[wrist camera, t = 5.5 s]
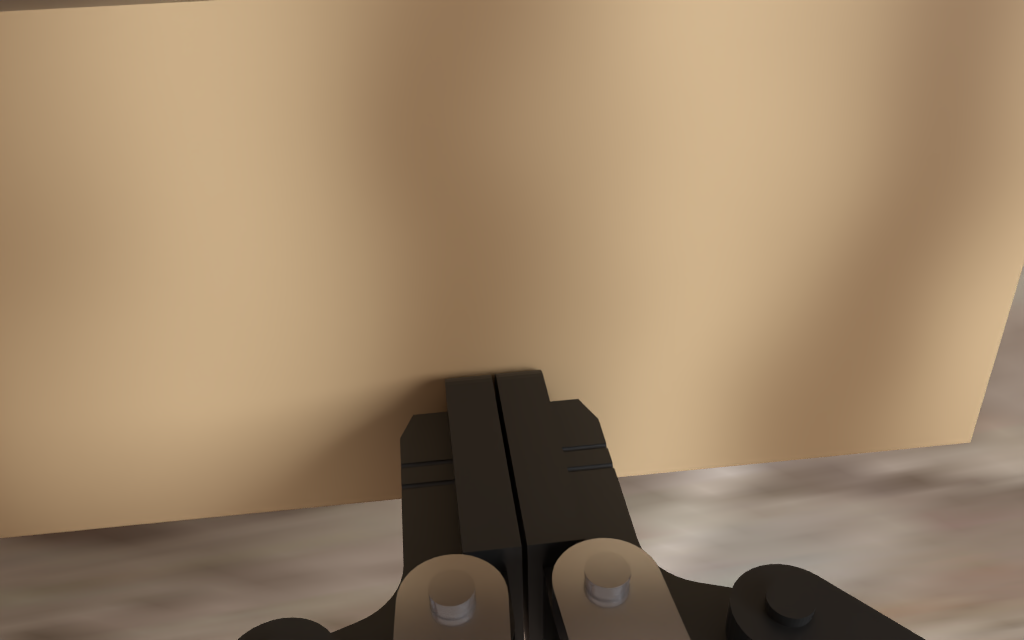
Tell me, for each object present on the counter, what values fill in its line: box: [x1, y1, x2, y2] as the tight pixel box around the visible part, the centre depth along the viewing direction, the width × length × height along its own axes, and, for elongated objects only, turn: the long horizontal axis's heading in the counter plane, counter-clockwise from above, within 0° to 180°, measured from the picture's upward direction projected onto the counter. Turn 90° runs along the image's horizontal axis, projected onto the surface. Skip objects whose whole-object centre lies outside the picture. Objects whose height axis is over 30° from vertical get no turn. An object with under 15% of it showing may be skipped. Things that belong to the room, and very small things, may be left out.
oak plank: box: [0, 0, 1024, 538], centre depth 13 cm, size 16×8×2 cm, turn 91°
